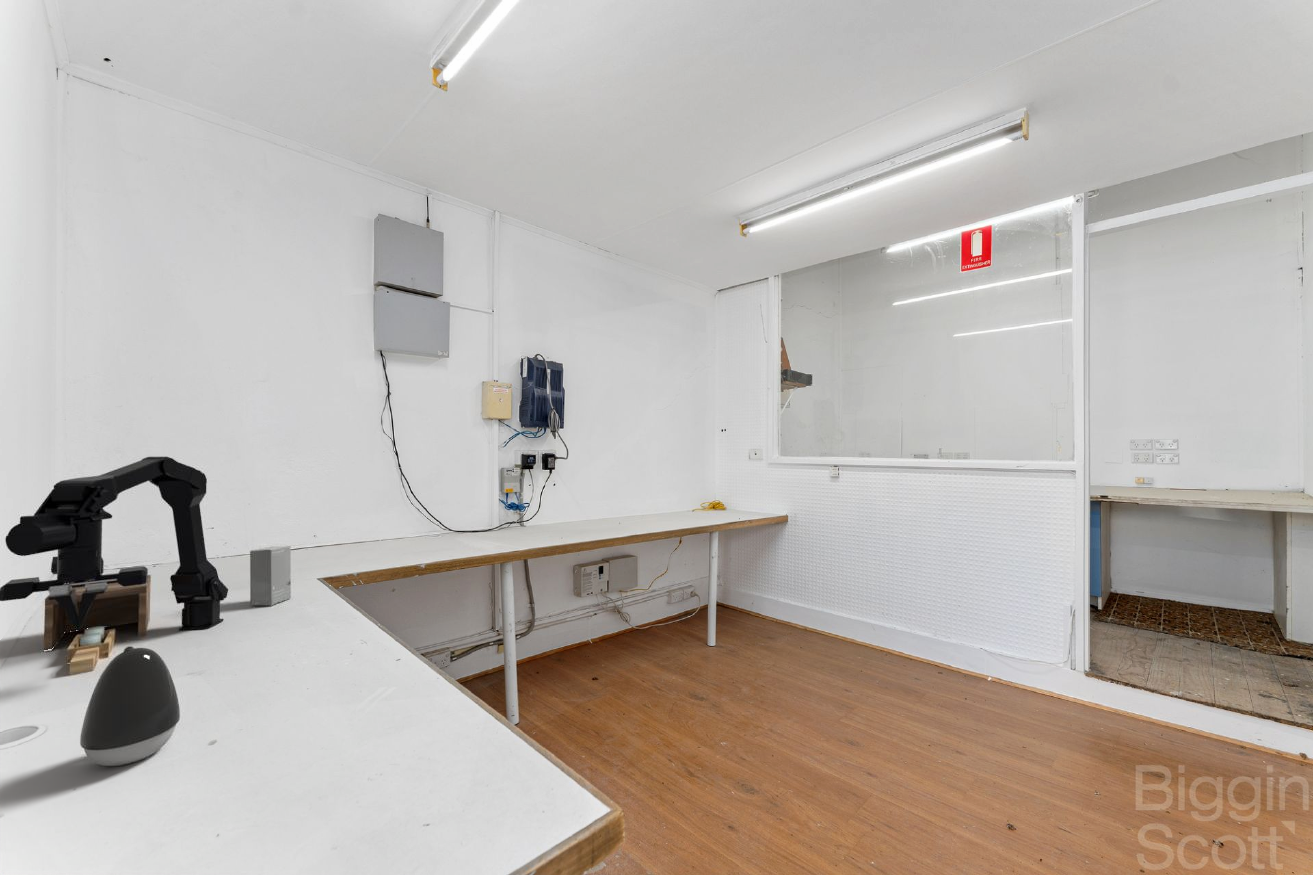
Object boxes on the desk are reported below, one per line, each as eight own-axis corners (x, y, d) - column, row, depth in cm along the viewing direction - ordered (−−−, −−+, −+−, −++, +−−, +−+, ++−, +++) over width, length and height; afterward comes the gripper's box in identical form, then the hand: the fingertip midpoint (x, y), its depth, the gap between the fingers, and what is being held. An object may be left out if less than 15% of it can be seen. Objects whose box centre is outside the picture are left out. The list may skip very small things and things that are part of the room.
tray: (103, 669, 107) (103, 646, 107) (58, 677, 103) (59, 653, 103) (115, 641, 122) (115, 622, 122) (76, 648, 118) (77, 627, 118)
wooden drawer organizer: (145, 635, 126) (146, 586, 127) (43, 652, 116) (45, 598, 116) (149, 619, 139) (150, 574, 139) (57, 633, 128) (59, 584, 128)
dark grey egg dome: (171, 729, 84) (173, 631, 84) (185, 752, 77) (188, 647, 78) (76, 758, 76) (79, 650, 76) (82, 787, 69) (85, 669, 70)
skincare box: (271, 606, 150) (272, 550, 150) (246, 606, 150) (247, 550, 150) (292, 598, 158) (293, 544, 159) (269, 598, 159) (270, 544, 159)
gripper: (150, 535, 114) (148, 608, 114) (15, 545, 102) (13, 627, 102) (146, 542, 106) (144, 621, 105) (-1, 554, 93) (-4, 644, 93)
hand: (78, 627), depth 102 cm, fingers closed
